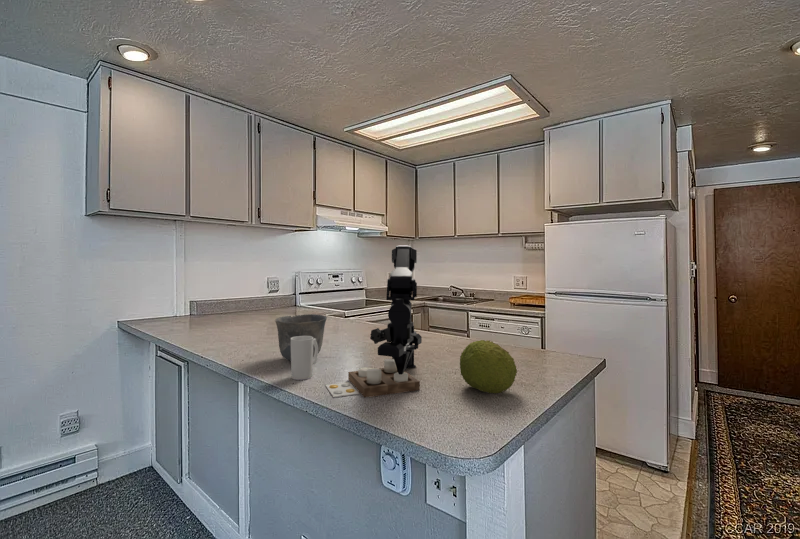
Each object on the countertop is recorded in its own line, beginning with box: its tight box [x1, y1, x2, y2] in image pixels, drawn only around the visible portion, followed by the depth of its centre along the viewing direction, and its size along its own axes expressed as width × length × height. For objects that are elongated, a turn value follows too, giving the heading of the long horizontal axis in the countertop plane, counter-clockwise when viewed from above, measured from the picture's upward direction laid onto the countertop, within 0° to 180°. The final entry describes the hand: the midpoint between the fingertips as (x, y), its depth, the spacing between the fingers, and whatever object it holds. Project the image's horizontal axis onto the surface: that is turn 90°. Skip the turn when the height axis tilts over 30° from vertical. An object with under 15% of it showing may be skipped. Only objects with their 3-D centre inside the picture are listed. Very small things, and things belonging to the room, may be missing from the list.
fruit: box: [459, 339, 518, 394], centre depth 109 cm, size 16×14×15 cm
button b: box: [394, 371, 409, 382], centre depth 111 cm, size 4×4×3 cm
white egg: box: [357, 367, 371, 378], centre depth 115 cm, size 4×4×3 cm
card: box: [325, 381, 360, 399], centre depth 109 cm, size 7×10×1 cm
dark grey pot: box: [274, 313, 327, 362], centre depth 140 cm, size 18×18×15 cm
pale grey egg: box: [383, 358, 397, 373], centre depth 118 cm, size 4×4×3 cm
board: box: [347, 367, 421, 399], centre depth 113 cm, size 16×16×2 cm
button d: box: [367, 367, 381, 384], centre depth 108 cm, size 4×4×3 cm
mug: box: [290, 336, 319, 381], centre depth 122 cm, size 10×7×12 cm, turn 147°
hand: (400, 374), depth 111 cm, fingers closed, pressing on button b
